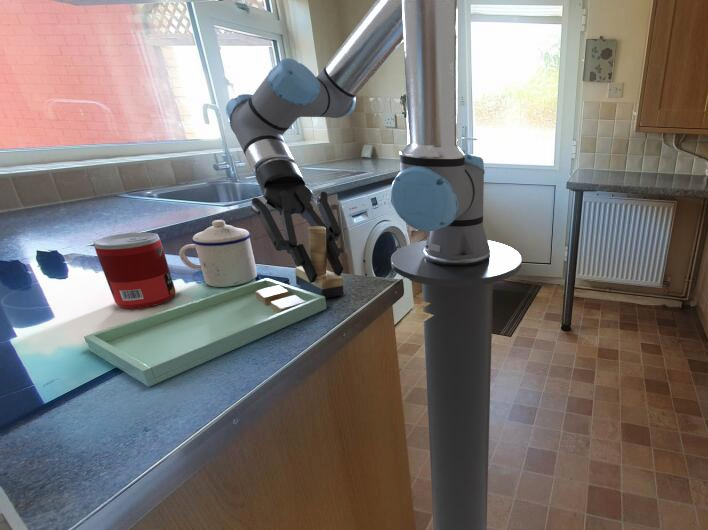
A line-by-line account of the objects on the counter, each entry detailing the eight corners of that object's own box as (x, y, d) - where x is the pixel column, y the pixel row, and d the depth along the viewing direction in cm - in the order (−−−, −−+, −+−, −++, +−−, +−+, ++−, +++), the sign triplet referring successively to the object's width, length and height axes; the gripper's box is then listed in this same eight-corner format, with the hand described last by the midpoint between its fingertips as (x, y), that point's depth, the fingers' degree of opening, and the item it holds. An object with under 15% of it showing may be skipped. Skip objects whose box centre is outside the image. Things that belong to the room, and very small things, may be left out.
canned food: (185, 297, 72) (167, 237, 67) (127, 314, 65) (103, 248, 61) (165, 287, 75) (146, 229, 71) (108, 302, 69) (84, 239, 65)
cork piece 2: (296, 302, 70) (295, 294, 69) (307, 309, 68) (306, 301, 67) (271, 309, 67) (270, 301, 67) (282, 317, 65) (280, 309, 64)
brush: (316, 280, 81) (314, 222, 78) (343, 294, 76) (342, 232, 72) (296, 284, 78) (293, 222, 75) (322, 299, 72) (320, 233, 69)
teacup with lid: (264, 269, 85) (252, 214, 81) (252, 286, 77) (238, 226, 73) (197, 273, 82) (181, 216, 78) (177, 291, 74) (158, 228, 70)
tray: (269, 289, 77) (266, 277, 76) (326, 308, 70) (325, 296, 69) (89, 350, 56) (83, 336, 55) (148, 387, 49) (142, 371, 48)
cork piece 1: (280, 292, 74) (279, 284, 73) (290, 298, 71) (289, 291, 71) (256, 298, 71) (254, 290, 70) (265, 305, 68) (264, 297, 68)
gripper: (317, 179, 86) (364, 274, 82) (222, 186, 74) (273, 297, 71) (325, 156, 81) (376, 255, 77) (224, 159, 69) (279, 277, 65)
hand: (327, 275), depth 74 cm, fingers closed on brush, 4 cm apart
